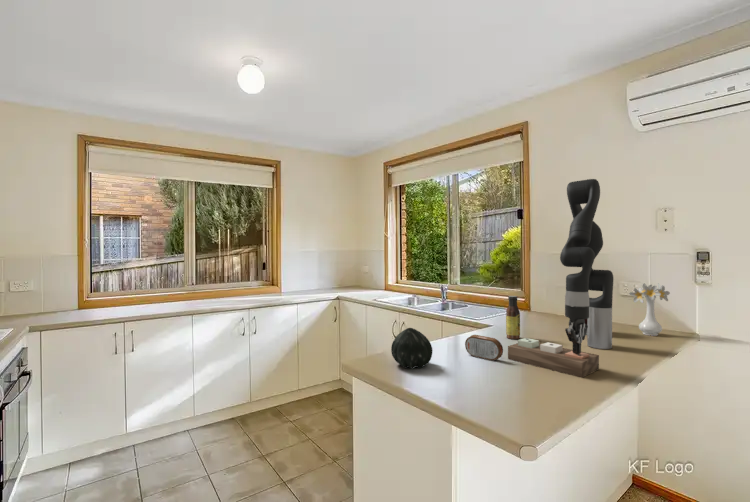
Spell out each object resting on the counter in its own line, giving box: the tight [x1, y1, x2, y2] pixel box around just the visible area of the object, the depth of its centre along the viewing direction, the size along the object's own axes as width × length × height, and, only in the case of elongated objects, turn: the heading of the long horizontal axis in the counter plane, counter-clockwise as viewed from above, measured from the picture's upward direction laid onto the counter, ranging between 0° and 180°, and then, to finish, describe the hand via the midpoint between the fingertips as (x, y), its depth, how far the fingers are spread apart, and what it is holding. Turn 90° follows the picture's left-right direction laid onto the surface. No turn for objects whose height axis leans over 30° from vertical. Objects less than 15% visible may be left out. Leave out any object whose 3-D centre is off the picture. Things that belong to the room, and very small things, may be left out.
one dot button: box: [540, 341, 564, 354], centre depth 140 cm, size 6×6×4 cm
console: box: [507, 342, 600, 379], centre depth 140 cm, size 14×27×5 cm, turn 39°
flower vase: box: [629, 283, 671, 337], centre depth 185 cm, size 13×18×25 cm
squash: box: [390, 327, 434, 369], centre depth 138 cm, size 14×15×15 cm
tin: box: [464, 334, 504, 361], centre depth 147 cm, size 15×3×8 cm, turn 47°
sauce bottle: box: [505, 295, 521, 340], centre depth 179 cm, size 7×6×20 cm
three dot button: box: [565, 351, 589, 359], centre depth 133 cm, size 6×6×4 cm
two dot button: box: [517, 337, 540, 348], centre depth 147 cm, size 6×6×4 cm
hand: (576, 353), depth 133 cm, fingers closed
